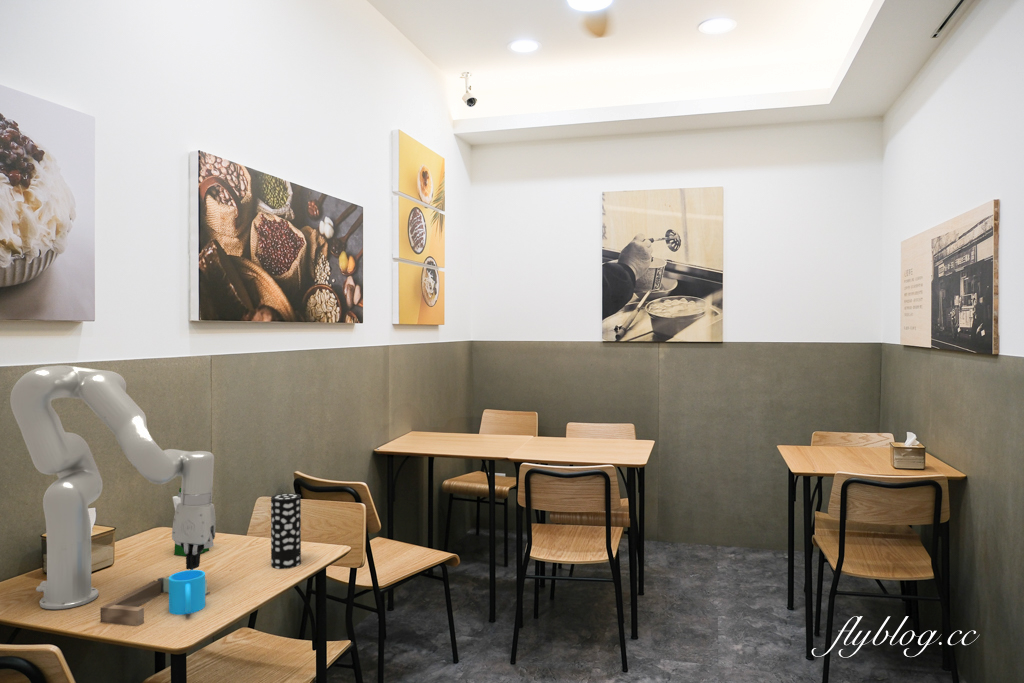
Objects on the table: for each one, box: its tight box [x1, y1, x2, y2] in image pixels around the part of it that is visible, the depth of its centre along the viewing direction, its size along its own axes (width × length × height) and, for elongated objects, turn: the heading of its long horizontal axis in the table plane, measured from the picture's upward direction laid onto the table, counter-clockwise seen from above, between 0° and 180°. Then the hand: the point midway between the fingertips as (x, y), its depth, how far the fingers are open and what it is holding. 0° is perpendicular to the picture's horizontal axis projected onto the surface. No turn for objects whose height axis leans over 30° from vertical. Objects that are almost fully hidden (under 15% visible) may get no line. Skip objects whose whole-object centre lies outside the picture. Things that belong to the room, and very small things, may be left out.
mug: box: [168, 569, 206, 616], centre depth 168 cm, size 12×8×8 cm
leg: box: [163, 575, 208, 594], centre depth 179 cm, size 12×2×4 cm, turn 77°
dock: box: [99, 577, 211, 627], centre depth 170 cm, size 14×21×4 cm, turn 169°
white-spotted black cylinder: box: [270, 492, 302, 570], centre depth 202 cm, size 8×8×20 cm
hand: (192, 567), depth 181 cm, fingers closed
